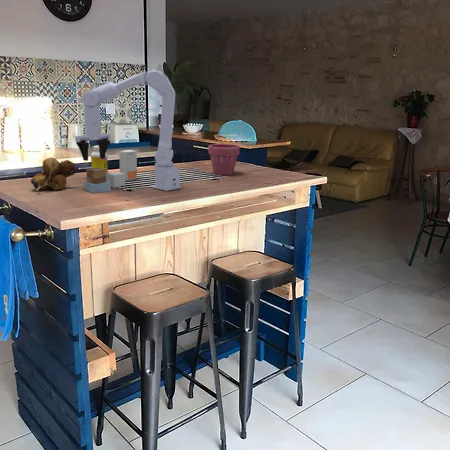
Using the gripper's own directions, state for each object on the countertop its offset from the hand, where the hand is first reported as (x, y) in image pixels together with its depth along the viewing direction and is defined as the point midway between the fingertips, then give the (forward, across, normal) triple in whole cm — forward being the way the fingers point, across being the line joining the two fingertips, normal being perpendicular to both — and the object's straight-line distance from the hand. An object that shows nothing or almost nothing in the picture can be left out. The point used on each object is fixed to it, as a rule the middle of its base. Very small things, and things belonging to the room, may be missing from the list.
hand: (94, 159), depth 192 cm
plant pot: (+11, -59, +15) cm, 62 cm away
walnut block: (+7, +4, +7) cm, 11 cm away
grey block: (+10, -6, +5) cm, 13 cm away
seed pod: (+11, +15, -7) cm, 19 cm away
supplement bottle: (+11, -13, -15) cm, 23 cm away
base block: (+11, +4, +7) cm, 14 cm away
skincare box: (+11, -18, -2) cm, 21 cm away
